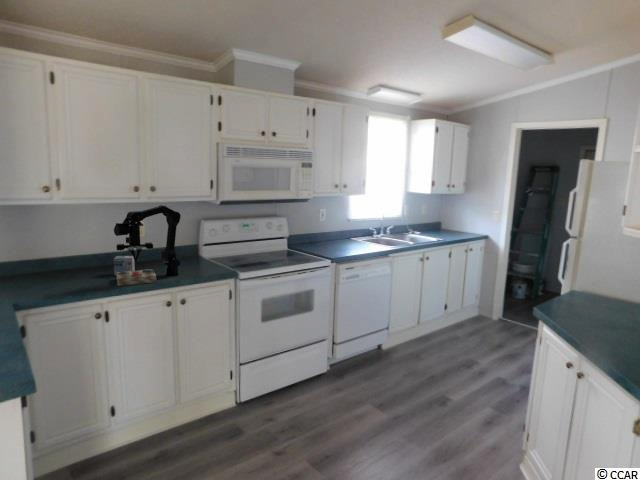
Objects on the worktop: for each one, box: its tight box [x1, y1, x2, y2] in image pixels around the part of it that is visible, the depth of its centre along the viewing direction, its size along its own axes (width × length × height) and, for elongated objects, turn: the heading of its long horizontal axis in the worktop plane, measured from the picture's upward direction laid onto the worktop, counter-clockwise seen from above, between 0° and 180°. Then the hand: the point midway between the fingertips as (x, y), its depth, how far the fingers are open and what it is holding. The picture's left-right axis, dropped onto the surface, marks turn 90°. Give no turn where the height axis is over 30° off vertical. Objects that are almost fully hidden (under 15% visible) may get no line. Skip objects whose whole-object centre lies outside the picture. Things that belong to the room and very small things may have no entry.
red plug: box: [133, 270, 140, 277], centre depth 231 cm, size 4×4×4 cm
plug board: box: [115, 269, 157, 287], centre depth 235 cm, size 20×16×4 cm
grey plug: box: [142, 268, 151, 273], centre depth 241 cm, size 4×4×4 cm
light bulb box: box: [113, 255, 136, 276], centre depth 250 cm, size 11×7×11 cm, turn 105°
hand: (135, 261), depth 230 cm, fingers closed
